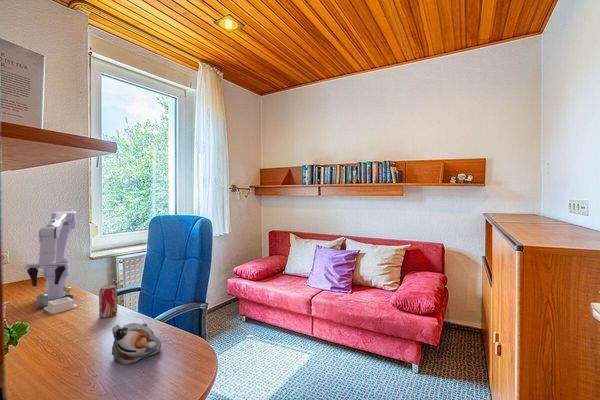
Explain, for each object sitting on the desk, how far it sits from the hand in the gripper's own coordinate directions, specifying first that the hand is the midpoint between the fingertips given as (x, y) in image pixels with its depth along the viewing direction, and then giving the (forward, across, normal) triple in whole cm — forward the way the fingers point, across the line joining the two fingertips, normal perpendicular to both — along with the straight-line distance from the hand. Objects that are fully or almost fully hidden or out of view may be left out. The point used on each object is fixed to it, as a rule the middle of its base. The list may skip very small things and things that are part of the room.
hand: (45, 285), depth 132 cm
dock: (+10, +6, -2) cm, 12 cm away
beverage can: (+15, +13, -28) cm, 34 cm away
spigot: (+9, +1, +4) cm, 10 cm away
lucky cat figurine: (+26, +4, -68) cm, 73 cm away
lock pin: (+6, +9, +2) cm, 11 cm away
